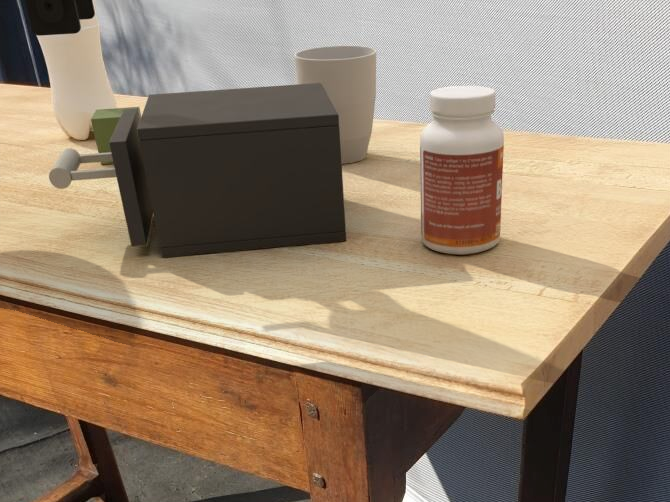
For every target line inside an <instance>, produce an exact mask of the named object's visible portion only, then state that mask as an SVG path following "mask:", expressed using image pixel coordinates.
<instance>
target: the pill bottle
mask: <svg viewBox="0 0 670 502" xmlns="http://www.w3.org/2000/svg"><path fill="white" fill-rule="evenodd" d="M496 95H497V93H496V90H495V89H494V88H492V87H488V86H482V85H451V86H444V87H439V88H435V89H433V90H431V91H430V93H429V111H430V112H429V113H430V115H431V116H432V117H433V120H432V121H431V122H430V123H428V124H427V125H425V127H424V128H423V130H422V132H421V134H420V139H419V153H420V154H419V158H420V159H419V161H420V163H419V165H420V171H419V173H420V176H419V177H420V229H421V230H420V233H421V235H420V236H421V241H422V243H423V244H424V246H426V247H427V248H428V249H431V251H435V252H438V253H442V254H448V255H458V256H459V255H460V256H461V255H472V254H478V253H482V252H485V251H488V250H490V249H492V248H494V247H495V246H496V245H497V244H498V243H499V241H500V238H501V229H502V228H501V221H502V198H503V197H502V196H503V173H504V171H503V169H504V150H505V149H504V147H505V135H504V132H503V129H502V128H501V127H500V125H499V124H498V123H497V122H495V121H493V119H492V115H493V114H494V113H495V110H496Z"/></svg>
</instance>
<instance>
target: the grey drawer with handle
mask: <svg viewBox="0 0 670 502" xmlns="http://www.w3.org/2000/svg"><path fill="white" fill-rule="evenodd" d="M139 122H140V117H139V111H138V109H124V110H123V112H122V115H121V117H120V119H119V122H118V124H117V126H116V128H115V131H114V133H113V135H112V138H111V140H110V142H109V144H110V149H111V152H108V153H98V152H97V153H96V152H95V153H83V154H80V152H78V150H77V149H75V148H71V147H70V148H69V147H67V148H65V149H63V150H62V152H61V154H59V156H58V158H57V159H56V161H55V163H54V164H53V167H52V168H51V170H50V171H49V174H48V180H49V182H50V184H51V185H52V186H53V187H54V188H57V189H58V190H59V189H60V190H64V189H67V188H68V187H69V186H70V185H71V184H72V181H73V182H74V181H85V180H87V181H88V180H98V179H99V180H100V179H110V178H111V179H113V178H116V181H117V186H118V191H119V195H120V200H121V204H122V208H123V214H124V218H125V224H126V227H127V233H128V237H129V241H130V246H131V247H141V246H147V245H148V241H149V237H150V231H151V227H152V222H153V218H154V215H153V210H152V205H151V199H150V194H149V189H148V184H147V179H146V174H145V169H144V164H143V158H142V153H141V148H140V143H139V138H138V133H137V128H138V125H139ZM108 161H113V163H114V164H113V166H114V167H107V168H105V167H104V168H94V169H93V168H92V169H79V168H80V166H81V164H93V163H95V164H96V163H101V162H108Z"/></svg>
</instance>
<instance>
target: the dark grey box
mask: <svg viewBox="0 0 670 502" xmlns="http://www.w3.org/2000/svg"><path fill="white" fill-rule="evenodd" d="M137 133H138V138H139V143H140V148H141V153H142V158H143V164H144V169H145V174H146V179H147V184H148V189H149V194H150V199H151V205H152V210H153V220H154V225H155V230H156V234H157V240H158V245H159V250H160V256H161V258H173V257H174V258H175V257H184V256H185V257H186V256H195V255H206V254H207V255H208V254H217V253H228V252H240V251H241V252H242V251H250V250H261V249H274V248H282V247H283V248H284V247H295V246H305V245H316V244H327V243H328V244H329V243H338V242H346V241H347V233H346V232H347V231H346V230H347V229H346V227H347V226H346V212H345V196H344V195H345V194H344V180H343V179H344V177H343V164H342V162H341V146H340V130H339V115H338V113H337V111H336V109H335V108H334V106H333V104H332V102H331V100H330V98H329V97H328V95H327V93H326V91H325V89H324V87H323V86H322V84H321V83H312V84H298V83H297V84H285V85H283V84H282V85H271V86H256V87H242V88H241V87H240V88H225V89H212V90H198V91H185V92H184V91H183V92H169V93H155V94H148V97H147V100H146V103H145V105H144V108H143V110H142V113H141V119H140V122H139V125H138V128H137Z"/></svg>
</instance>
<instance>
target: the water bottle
mask: <svg viewBox="0 0 670 502" xmlns="http://www.w3.org/2000/svg"><path fill="white" fill-rule="evenodd" d="M92 1H93V6H94V11H95V15H94V17H93V18H92V19H82V20H80V25H81V29H80V31H79V32H78V33H75V34H59V35H41V36H38V35H36V38H37V40H38V42H39V45H40V49H41V51H42V54H43V58H44V61H45V65H46V68H47V74H48V80H49V85H50V95H51V106H52V110H53V113H54V117H55V120H56V122H57V124H58V126H59V128H60V129H61V131H62V132H63V133H64V134H65V136H67V137H71V138H72V139H75V140H77V141H86V140H87V139H88V138H89V136H90V135H89V134H90V132H93V127H92V122H91V118H92V116H93V115H94V113H95V111H96V110H100V109H114V108H118V105H117V99H116V96H115V93H114V92H113V89H112V87H111V83H110V80H109V77H108V74H107V69H106V66H105V62H104V56H103V51H102V50H103V49H102V42H101V29H100V28H101V25H100V23H99V19H98V14H97V9H96V8H97V7H96V3H95V0H92Z"/></svg>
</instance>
